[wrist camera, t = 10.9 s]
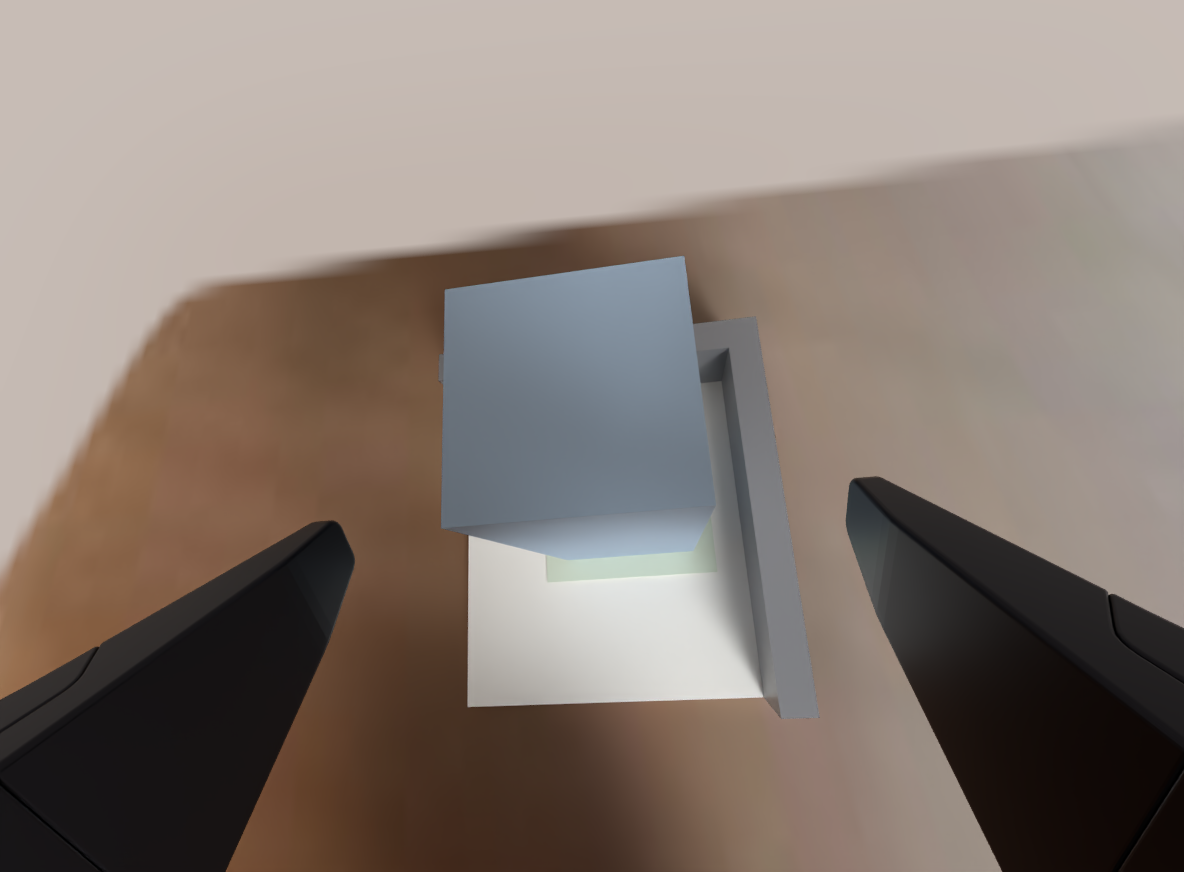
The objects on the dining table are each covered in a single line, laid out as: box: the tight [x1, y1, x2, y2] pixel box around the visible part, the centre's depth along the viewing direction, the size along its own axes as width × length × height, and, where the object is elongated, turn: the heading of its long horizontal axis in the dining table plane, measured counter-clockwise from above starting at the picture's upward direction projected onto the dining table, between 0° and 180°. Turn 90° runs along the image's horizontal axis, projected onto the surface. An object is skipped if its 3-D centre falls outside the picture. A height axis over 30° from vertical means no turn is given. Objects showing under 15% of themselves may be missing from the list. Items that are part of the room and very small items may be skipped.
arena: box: [439, 316, 820, 719], centre depth 18 cm, size 12×11×4 cm
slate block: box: [441, 256, 716, 560], centre depth 15 cm, size 5×4×11 cm
